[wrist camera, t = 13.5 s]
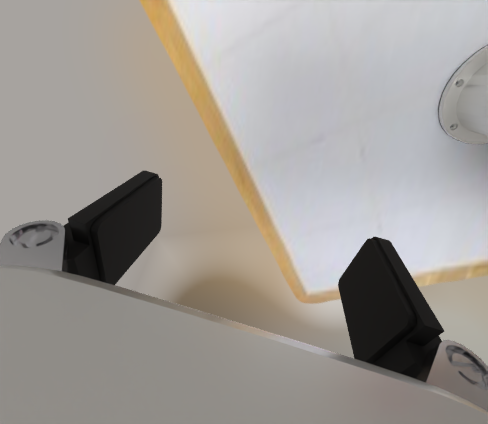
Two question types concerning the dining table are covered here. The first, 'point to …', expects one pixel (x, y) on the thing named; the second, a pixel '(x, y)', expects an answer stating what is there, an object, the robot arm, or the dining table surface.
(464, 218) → the dining table surface
